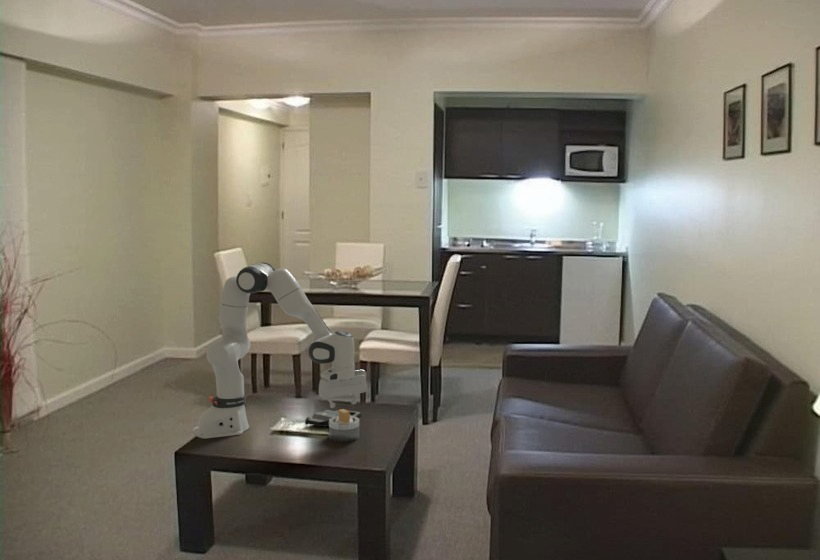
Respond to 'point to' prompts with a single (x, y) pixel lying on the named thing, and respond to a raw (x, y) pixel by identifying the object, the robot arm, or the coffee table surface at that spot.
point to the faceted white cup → (344, 430)
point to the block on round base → (344, 417)
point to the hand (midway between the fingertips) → (343, 405)
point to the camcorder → (326, 417)
